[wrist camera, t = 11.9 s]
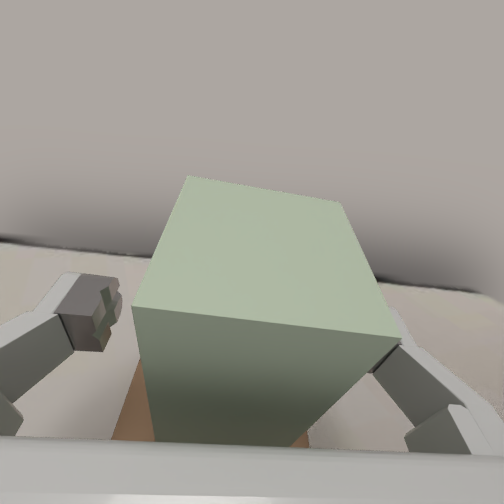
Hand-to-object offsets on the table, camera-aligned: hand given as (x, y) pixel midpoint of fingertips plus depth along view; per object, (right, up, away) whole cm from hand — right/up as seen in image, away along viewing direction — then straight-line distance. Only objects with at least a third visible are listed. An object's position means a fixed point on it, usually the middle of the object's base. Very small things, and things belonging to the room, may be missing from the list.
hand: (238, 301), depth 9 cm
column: (-1, -6, +4) cm, 7 cm away
